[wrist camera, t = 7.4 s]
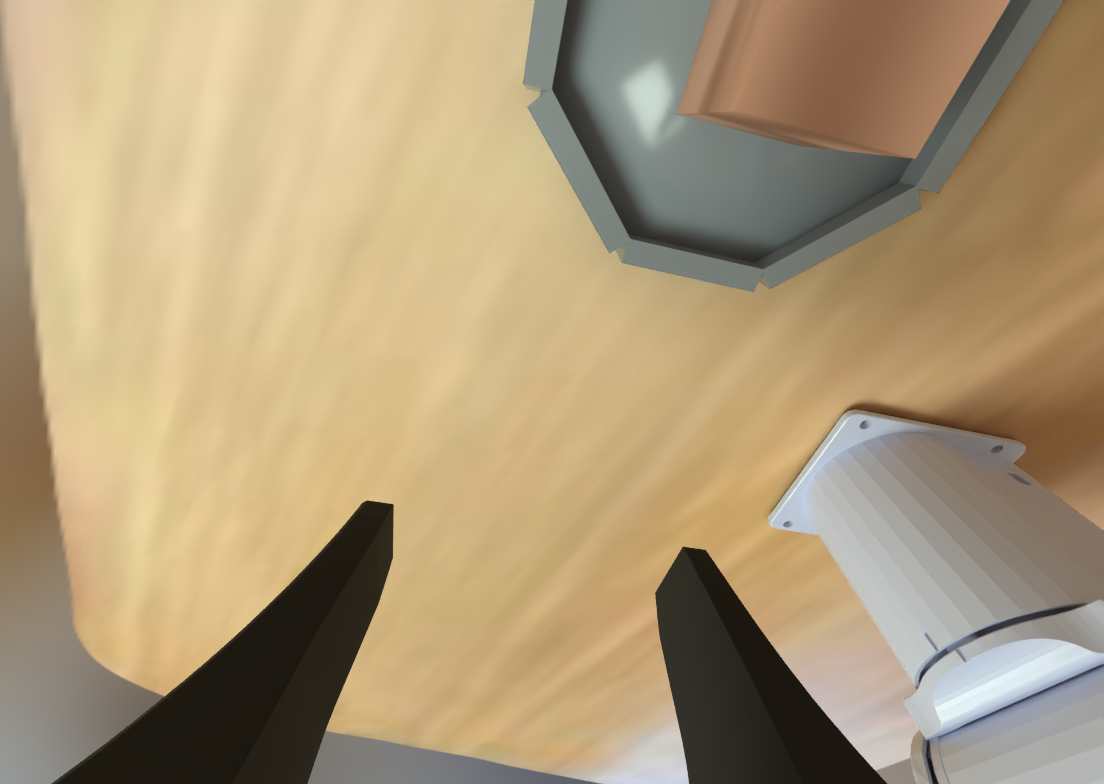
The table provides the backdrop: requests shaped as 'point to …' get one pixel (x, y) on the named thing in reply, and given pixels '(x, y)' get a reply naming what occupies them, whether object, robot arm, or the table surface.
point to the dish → (726, 146)
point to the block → (836, 69)
